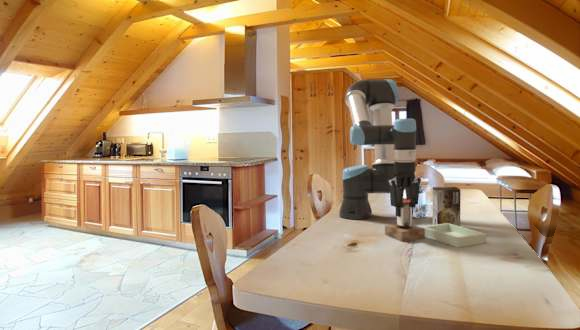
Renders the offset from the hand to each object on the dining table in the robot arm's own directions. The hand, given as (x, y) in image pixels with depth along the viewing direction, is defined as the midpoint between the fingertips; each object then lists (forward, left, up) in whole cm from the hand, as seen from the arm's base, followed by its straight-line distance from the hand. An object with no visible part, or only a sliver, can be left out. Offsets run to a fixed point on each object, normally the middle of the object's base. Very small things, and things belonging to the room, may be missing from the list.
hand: (404, 224), depth 134 cm
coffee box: (-3, +23, -5) cm, 24 cm away
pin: (0, 0, -5) cm, 5 cm away
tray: (+10, +13, -5) cm, 17 cm away
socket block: (0, 0, -5) cm, 5 cm away
